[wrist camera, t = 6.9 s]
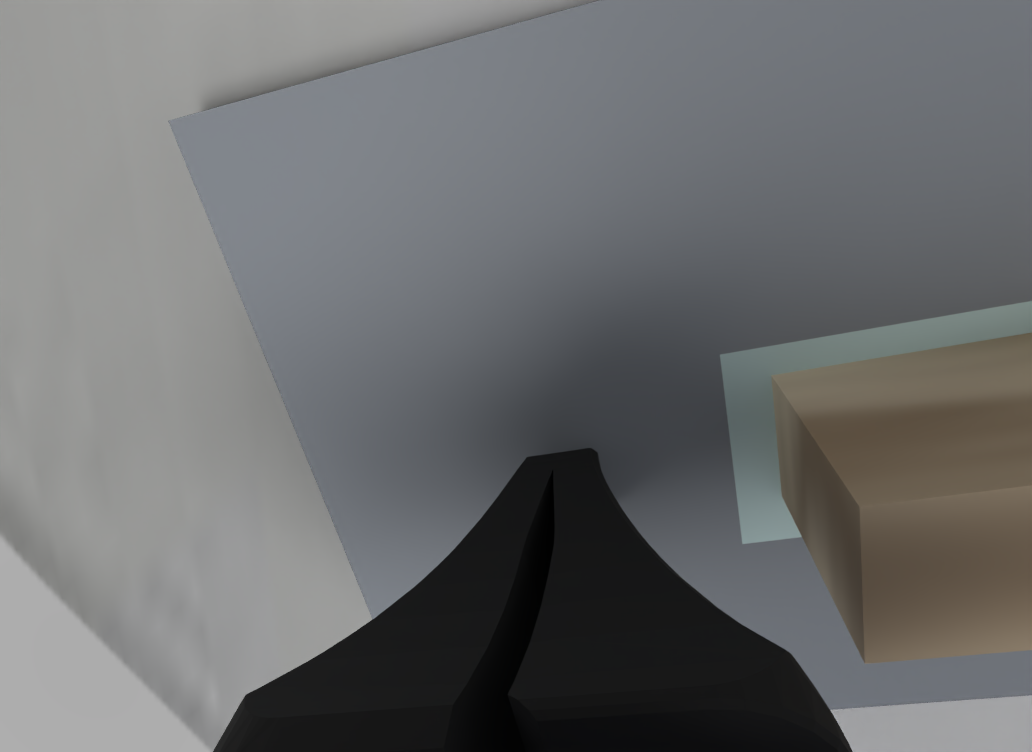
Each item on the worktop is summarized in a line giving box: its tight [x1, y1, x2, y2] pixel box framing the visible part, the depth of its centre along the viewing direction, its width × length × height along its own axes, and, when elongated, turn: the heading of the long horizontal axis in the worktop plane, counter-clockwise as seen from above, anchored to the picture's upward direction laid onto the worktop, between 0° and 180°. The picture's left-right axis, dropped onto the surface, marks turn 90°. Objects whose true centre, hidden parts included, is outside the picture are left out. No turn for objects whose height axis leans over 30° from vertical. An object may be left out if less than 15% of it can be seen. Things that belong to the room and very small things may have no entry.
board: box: [169, 0, 1032, 710], centre depth 12 cm, size 15×19×1 cm
